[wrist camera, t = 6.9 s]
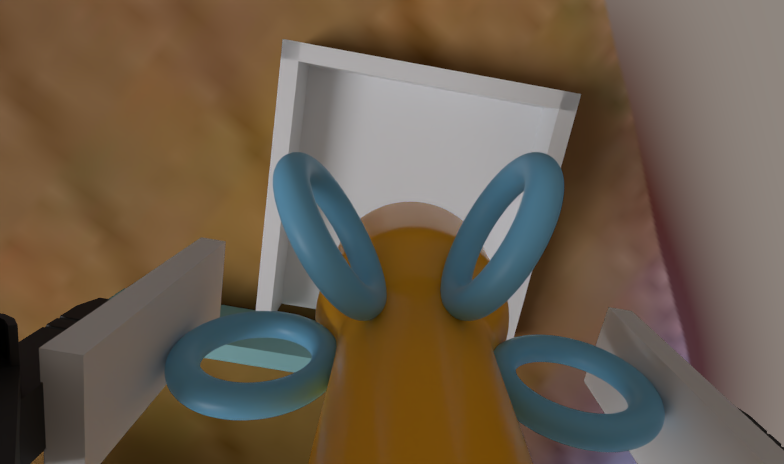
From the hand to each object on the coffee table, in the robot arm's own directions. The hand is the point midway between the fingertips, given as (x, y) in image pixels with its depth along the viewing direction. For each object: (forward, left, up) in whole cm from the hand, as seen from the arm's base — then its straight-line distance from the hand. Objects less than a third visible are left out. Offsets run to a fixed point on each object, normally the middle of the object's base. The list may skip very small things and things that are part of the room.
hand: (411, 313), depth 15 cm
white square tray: (0, -1, -17) cm, 17 cm away
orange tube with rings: (0, 0, -4) cm, 4 cm away
